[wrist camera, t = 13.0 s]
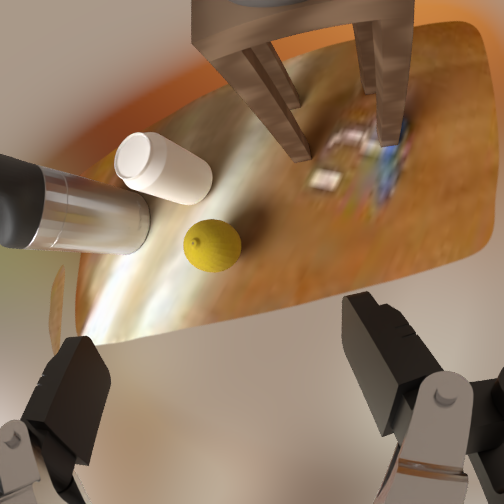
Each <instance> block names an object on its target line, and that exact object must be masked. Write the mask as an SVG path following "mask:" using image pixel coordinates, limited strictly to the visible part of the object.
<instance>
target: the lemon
mask: <svg viewBox="0 0 504 504" xmlns="http://www.w3.org/2000/svg"><path fill="white" fill-rule="evenodd" d="M184 253H185V255H186V257H187V259H188V260H189V262H190V263H191V264H192V265H194V266H195V267H196V268H198V269H200V270H203V271H206V272H220V271H224V270H226V269H228V268H230V267H231V266H232V265H233V264H235V263H236V261H237V260H238V258H239V256H240V253H241V240H240V237H239V234H238V233H237V232H236V230H235V229H234V228H233V227H232V226H231V225H229V224H228V223H226V222H223V221H221V220H214V219H209V220H203V221H200V222H198V223H196V224H194V225H193V226H192V227H191V228H190V229H189V230H188V232H187V233H186V236H185V238H184Z"/></svg>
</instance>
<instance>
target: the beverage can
mask: <svg viewBox="0 0 504 504" xmlns="http://www.w3.org/2000/svg"><path fill="white" fill-rule="evenodd" d="M114 166H115V171H116V173H117V175H118V176H119V177H120V178H121V179H123V181H124V182H125V184H126V185H127V186H128V187H129V188H131V189H134V190H137V191H140V192H143V193H147V194H150V195H153V196H157V197H160V198H163V199H166V200H170V201H173V202H176V203H180V204H183V205H193V204H196V203H198V202H200V201H201V200H202V199H203V198H204V197H205V196H206V195H207V193H208V192H209V190H210V188H211V185H212V171H211V168H210V166H209V165H208V164H207V163H206V162H205V161H204V160H203V159H201V158H199V157H198V156H196V155H194V154H193V153H191V152H189V151H188V150H186V149H184V148H182V147H181V146H179V145H177V144H176V143H174V142H172V141H170V140H169V139H167V138H165V137H163V136H162V135H160V134H158V133H155V132H147V133H141V132H137V133H133V134H131V135H129V136H128V137H127V138H126V139H125V140H124V141H123V142H122V143H121V145H120V146H119V148H118V150H117V153H116V156H115V162H114Z"/></svg>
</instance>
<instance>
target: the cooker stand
mask: <svg viewBox="0 0 504 504" xmlns="http://www.w3.org/2000/svg"><path fill="white" fill-rule="evenodd" d="M414 2H415V0H192V2H191V3H192V4H191V5H192V6H191V12H192V14H191V16H192V17H191V35H192V38H191V39H192V44H193V45H194V46H195V48H196V49H197V50H198V51H199V52H200V53H201V54H202V55H203V56H204V57H205V58H206V59H207V60H208V61H209V62H210V63H211V64H212V66H213V67H214V68H215V69H216V70H217V71H218V72H219V73H220V74H221V75H222V76H223V78H224V79H225V80H226V81H227V82H228V83H229V84H230V85H231V87H232V88H233V89H234V90H235V91H236V92H237V93H238V95H239V96H240V97H241V98H242V99H243V100H244V101H245V103H246V104H247V105H248V106H249V107H250V109H251V110H252V111H253V112H254V113H255V114H256V116H257V117H258V118H259V119H260V120H261V122H262V123H263V124H264V125H265V126H266V128H267V129H268V130H269V131H270V133H271V134H272V135H273V136H274V138H275V139H276V140H277V141H278V143H279V144H280V145H281V146H282V148H283V149H284V150H285V151H286V153H287V154H288V155H289V157H290V158H291V159H292V160H293V162H294V163H297V162H302V161H307V160H312V159H311V154H310V148H309V143H308V142H307V140H306V138H305V136H304V134H303V133H302V131H301V129H300V127H299V125H298V124H297V122H296V120H295V118H294V117H293V115H292V113H291V111H290V110H292V109H296V108H300V107H301V105H300V100H299V96H298V93H297V91H296V89H295V87H294V85H293V83H292V81H291V79H290V77H289V75H288V73H287V71H286V69H285V67H284V65H283V64H282V62H281V60H280V58H279V56H278V54H277V53H276V51H275V49H274V47H273V45H272V44H271V42H270V41H273V40H277V39H280V38H284V37H288V36H292V35H296V34H300V33H304V32H309V31H313V30H318V29H323V28H328V27H333V26H338V25H345V24H351V23H352V24H353V29H354V34H355V41H356V47H357V54H358V61H359V68H360V76H361V83H362V85H363V88H364V91H365V94H366V95H367V94H374V93H376V100H377V134H378V138H379V142H380V145H381V147H386V146H393V145H398V142H399V136H400V131H401V125H402V120H403V114H404V107H405V101H406V94H407V87H408V79H409V70H410V61H411V51H412V39H413V24H414Z"/></svg>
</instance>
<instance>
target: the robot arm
mask: <svg viewBox="0 0 504 504" xmlns="http://www.w3.org/2000/svg"><path fill="white" fill-rule="evenodd" d="M149 225H150V214H149V208H148V205H147V203H146V201H145V199H144V198H143V197H142V196H141V195H139V194H138V193H135V192H132V191H128V190H125V189H121V188H118V187H115V186H111V185H108V184H105V183H101V182H98V181H94V180H90V179H87V178H83V177H80V176H76V175H72V174H69V173H65V172H62V171H58V170H54V169H50V168H47V167H43V166H39V165H36V164H32V163H28V162H25V161H21V160H19V159H15V158H13V157H9V156H6V155H2V154H0V244H1V245H2V246H4V247H8V248H16V249H33V250H51V251H67V252H84V253H101V254H118V255H128V254H131V253H133V252H135V251H136V250H138V249H139V248H140V246H141V245H142V244H143V242H144V240H145V239H146V236H147V233H148V230H149ZM342 344H343V348H344V352H345V355H346V357H347V359H348V361H349V363H350V366H351V368H352V370H353V372H354V374H355V377H356V379H357V381H358V383H359V386H360V388H361V390H362V392H363V395H364V397H365V399H366V401H367V404H368V406H369V408H370V411H371V413H372V415H373V417H374V419H375V422H376V424H377V427H378V429H379V431H380V434H381V436H382V437H384V436H387V435H389V434H392V433H394V434H395V437H396V439H397V441H398V442H397V445H396V447H395V450H394V453H393V456H392V459H391V461H390V464H389V466H388V469H387V471H386V474H385V477H384V479H383V481H382V484H381V486H380V488H379V491H378V493H377V495H376V497H375V499H374V502H373V504H464V500H465V496H466V492H467V488H468V475H467V474H466V473H464V472H463V465H464V460H465V455H468V456H469V458H470V461H471V463H472V465H473V467H474V470H475V472H476V474H477V477H478V479H479V481H480V484H481V486H482V489H483V491H484V494H485V496H486V499H487V501H488V504H504V367H503V369H502V370H501V372H500V374H499V376H498V378H495V379H489V380H483V381H476V382H468V381H467V380H466V379H465V378H464V377H463V376H461V375H459V374H457V373H455V372H450V371H444V370H443V369H442V368H441V366H440V365H439V363H438V362H437V361H436V359H435V358H434V356H433V355H432V354H431V352H430V351H429V349H428V348H427V347H426V345H425V344H424V343H423V341H422V340H421V339H420V337H419V336H418V335H416V332H415V331H414V329H413V328H412V327H411V326H409V323H408V321H407V320H406V319H405V317H404V316H403V315H402V314H401V312H400V311H398V310H396V309H395V308H393V307H391V306H390V305H388V304H383V305H378V304H377V302H376V301H375V299H374V298H373V297H372V296H371V294H370V293H369V292H367V291H366V292H361V293H357V294H353V295H348V296H344V297H343V300H342ZM37 385H38V386H36V387H35V389H34V391H33V394H32V396H31V398H30V400H29V402H28V404H27V406H26V409H25V411H24V413H23V415H22V417H21V419H20V420H11V421H9V422H7V423H6V424H4V425H3V426H2V427H1V428H0V504H92V503H91V501H90V499H89V497H88V495H87V493H86V491H85V489H84V487H83V485H82V482H81V480H80V478H79V476H78V474H77V473H76V472H75V471H74V466H75V464H79V465H87V466H89V463H90V458H91V455H92V450H93V446H94V442H95V438H96V435H97V431H98V427H99V424H100V420H101V416H102V413H103V410H104V406H105V403H106V399H107V396H108V392H109V389H110V385H111V377H110V373H109V370H108V368H107V367H106V365H105V363H104V361H103V360H102V358H101V356H100V354H99V353H98V351H97V349H96V347H95V345H94V344H93V342H92V340H91V339H90V338H89V337H88V336H79V337H69V338H66V339H65V341H64V342H63V344H62V346H61V348H60V350H59V351H58V353H57V354H56V355H55V356H54V357H53V358H52V359H51V360H50V361H49V362H48V364H47V366H46V368H45V369H44V371H43V373H42V377H41V378H40V379H39V381H38V383H37Z"/></svg>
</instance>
